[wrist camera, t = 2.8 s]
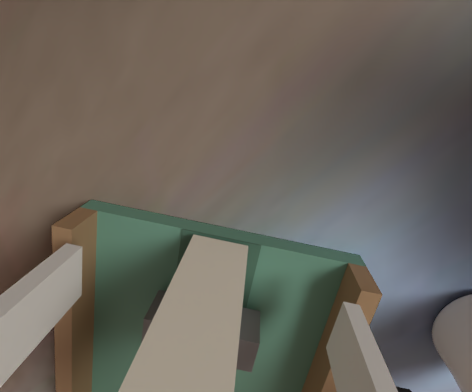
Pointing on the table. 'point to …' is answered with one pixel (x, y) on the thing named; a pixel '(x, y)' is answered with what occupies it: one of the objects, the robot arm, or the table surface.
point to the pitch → (159, 277)
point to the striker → (198, 325)
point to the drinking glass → (456, 340)
